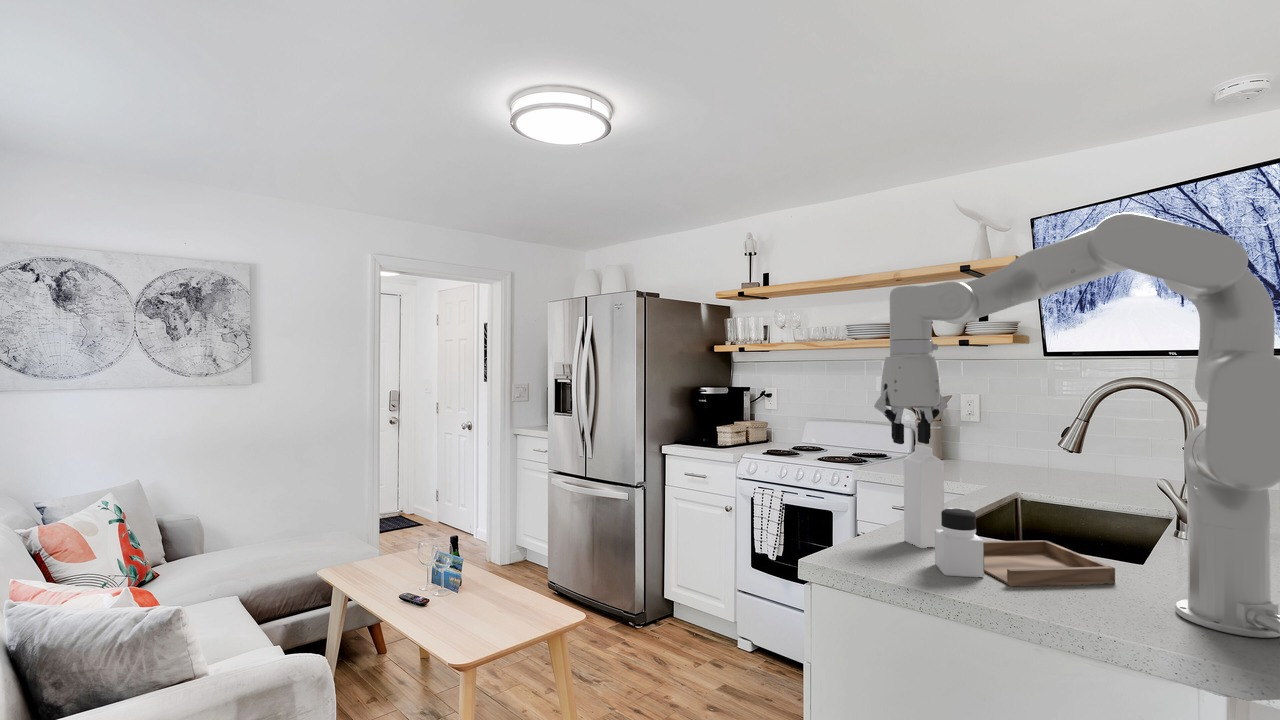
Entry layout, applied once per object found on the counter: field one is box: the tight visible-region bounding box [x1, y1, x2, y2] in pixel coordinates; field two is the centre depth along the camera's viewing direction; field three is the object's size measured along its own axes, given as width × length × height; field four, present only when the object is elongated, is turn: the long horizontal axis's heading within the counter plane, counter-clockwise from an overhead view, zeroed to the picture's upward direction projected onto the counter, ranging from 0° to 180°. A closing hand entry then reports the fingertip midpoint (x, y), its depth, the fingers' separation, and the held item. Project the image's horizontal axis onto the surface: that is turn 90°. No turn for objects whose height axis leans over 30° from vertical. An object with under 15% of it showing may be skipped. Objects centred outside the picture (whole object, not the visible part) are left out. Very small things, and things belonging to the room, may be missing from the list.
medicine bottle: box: [934, 507, 985, 579], centre depth 123 cm, size 7×7×12 cm
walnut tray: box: [984, 539, 1116, 587], centre depth 123 cm, size 18×20×3 cm
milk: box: [903, 444, 945, 549], centre depth 141 cm, size 6×6×22 cm
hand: (911, 442), depth 122 cm, fingers open, 4 cm apart
